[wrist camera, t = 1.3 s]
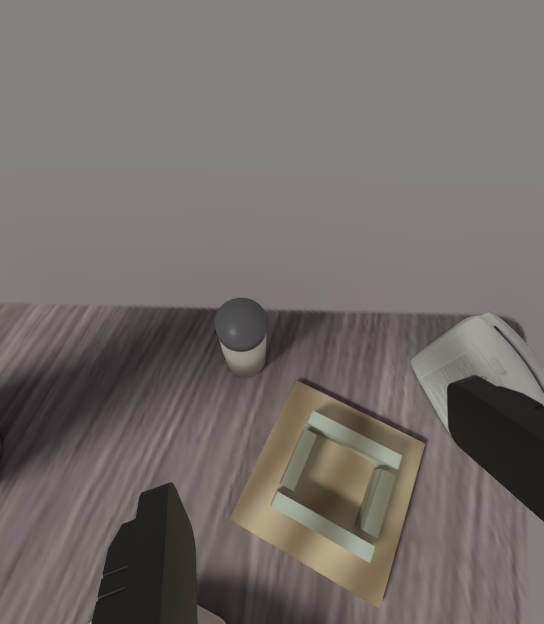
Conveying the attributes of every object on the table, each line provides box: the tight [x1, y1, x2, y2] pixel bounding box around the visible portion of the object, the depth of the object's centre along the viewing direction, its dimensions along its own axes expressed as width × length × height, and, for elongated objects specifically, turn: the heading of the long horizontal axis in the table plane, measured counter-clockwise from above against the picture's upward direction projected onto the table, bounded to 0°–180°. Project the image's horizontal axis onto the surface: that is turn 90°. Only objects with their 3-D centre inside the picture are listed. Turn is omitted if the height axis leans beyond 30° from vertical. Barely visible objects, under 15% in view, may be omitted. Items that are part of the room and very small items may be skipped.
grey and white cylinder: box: [214, 298, 267, 377], centre depth 32 cm, size 4×4×10 cm
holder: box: [230, 380, 425, 609], centre depth 30 cm, size 14×14×4 cm
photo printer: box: [411, 312, 544, 435], centre depth 30 cm, size 10×4×12 cm, turn 21°
